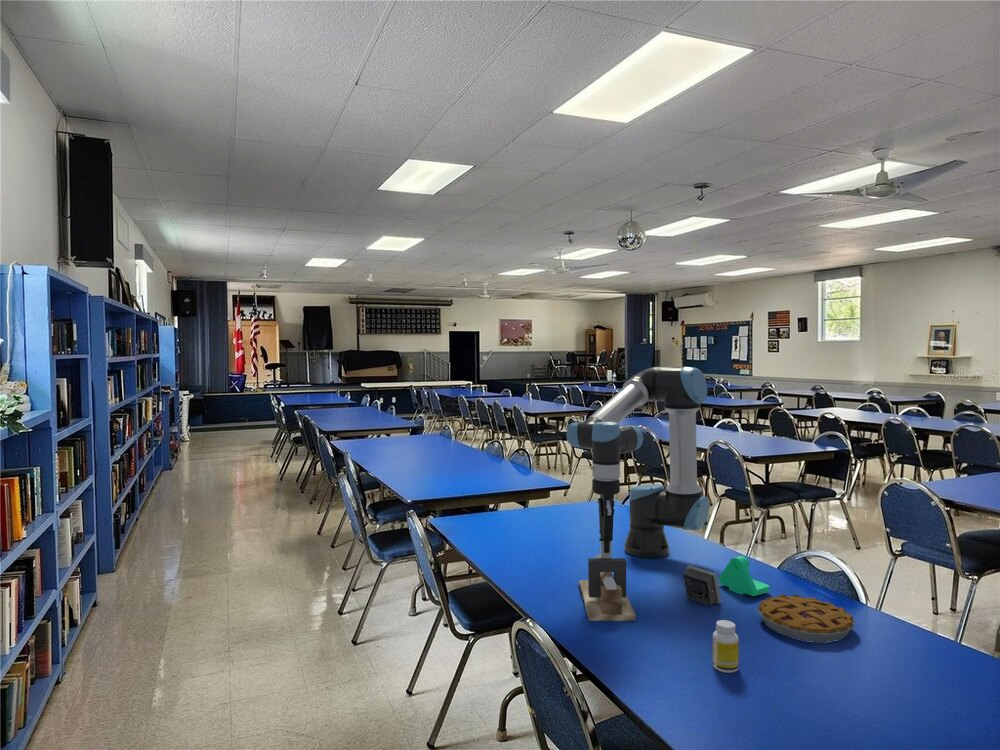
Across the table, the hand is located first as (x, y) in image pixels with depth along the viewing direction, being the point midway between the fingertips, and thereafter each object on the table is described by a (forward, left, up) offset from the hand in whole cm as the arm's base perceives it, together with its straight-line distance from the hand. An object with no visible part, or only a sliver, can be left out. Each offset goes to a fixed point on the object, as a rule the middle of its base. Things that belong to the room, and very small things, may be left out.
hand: (605, 563), depth 173 cm
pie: (-48, +14, -12) cm, 51 cm away
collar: (0, +2, -8) cm, 9 cm away
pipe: (0, -1, -5) cm, 5 cm away
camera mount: (-42, -10, -12) cm, 45 cm away
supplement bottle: (-21, +35, -12) cm, 42 cm away
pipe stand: (0, -1, -11) cm, 12 cm away
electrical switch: (-27, -2, -12) cm, 29 cm away
